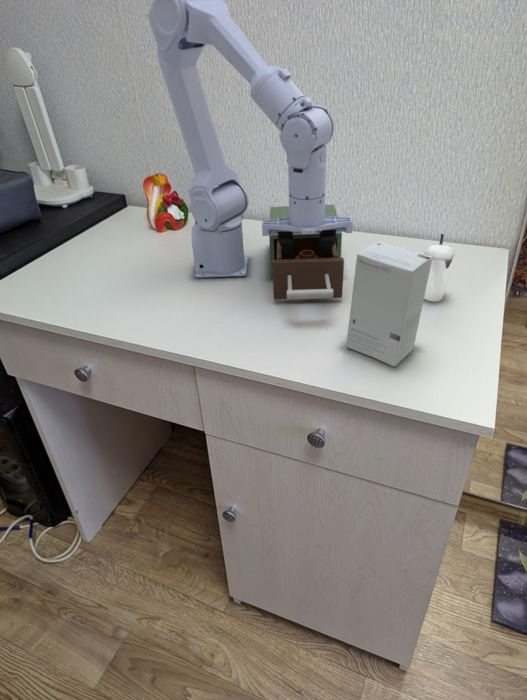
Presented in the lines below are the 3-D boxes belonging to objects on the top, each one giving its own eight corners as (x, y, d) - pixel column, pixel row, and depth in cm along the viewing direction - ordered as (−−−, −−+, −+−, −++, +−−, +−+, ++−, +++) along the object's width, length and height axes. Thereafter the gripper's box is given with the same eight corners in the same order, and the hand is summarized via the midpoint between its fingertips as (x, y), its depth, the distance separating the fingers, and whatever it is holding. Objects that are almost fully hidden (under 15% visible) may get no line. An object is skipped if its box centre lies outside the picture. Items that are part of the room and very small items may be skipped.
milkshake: (447, 290, 84) (457, 234, 79) (445, 305, 80) (456, 248, 74) (419, 287, 86) (428, 232, 80) (416, 301, 82) (425, 245, 76)
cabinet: (339, 277, 90) (342, 232, 85) (271, 279, 90) (269, 235, 86) (332, 245, 102) (334, 204, 97) (271, 247, 102) (270, 206, 97)
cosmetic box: (345, 348, 72) (351, 253, 63) (366, 330, 75) (375, 238, 67) (398, 369, 67) (412, 270, 59) (418, 348, 71) (434, 252, 62)
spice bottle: (295, 285, 84) (295, 258, 81) (294, 274, 87) (294, 248, 84) (319, 284, 84) (319, 257, 81) (317, 273, 87) (318, 247, 84)
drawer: (346, 319, 76) (349, 280, 73) (273, 321, 77) (271, 282, 73) (334, 263, 93) (336, 228, 89) (274, 264, 94) (273, 230, 90)
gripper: (259, 204, 74) (264, 284, 82) (356, 200, 73) (351, 282, 81) (261, 189, 80) (265, 266, 88) (351, 186, 79) (346, 263, 87)
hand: (306, 272), depth 85 cm, fingers closed on spice bottle, 4 cm apart
